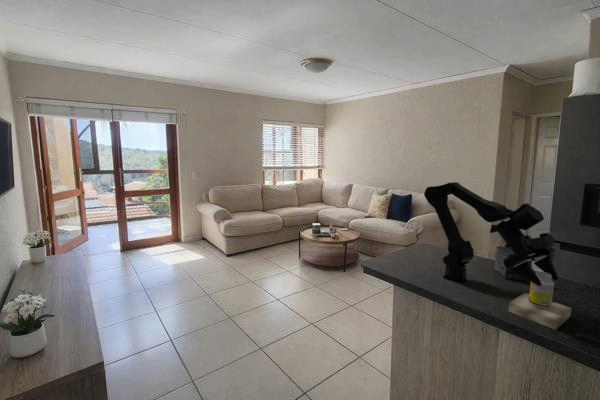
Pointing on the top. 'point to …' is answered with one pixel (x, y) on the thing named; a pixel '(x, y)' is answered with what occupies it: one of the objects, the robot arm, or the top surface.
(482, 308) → the top surface
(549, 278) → the supplement bottle
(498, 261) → the small box
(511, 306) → the birch base block
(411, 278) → the top surface
